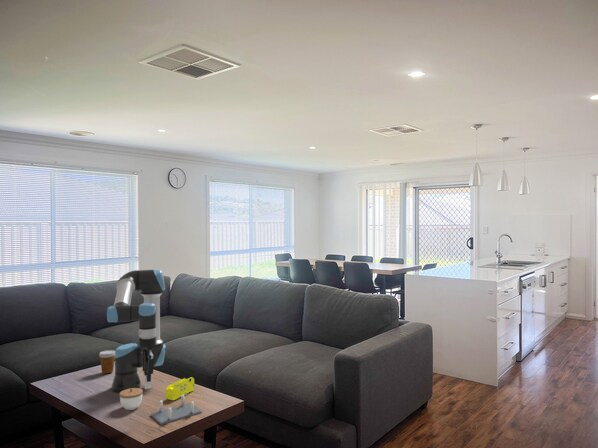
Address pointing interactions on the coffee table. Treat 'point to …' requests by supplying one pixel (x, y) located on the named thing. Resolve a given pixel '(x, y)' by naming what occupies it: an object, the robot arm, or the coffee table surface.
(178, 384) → the yellow toy chassis
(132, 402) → the lidded jar
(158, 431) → the coffee table surface
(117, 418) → the coffee table surface
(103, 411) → the coffee table surface
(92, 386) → the coffee table surface
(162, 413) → the pin tray
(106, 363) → the disposable coffee cup
